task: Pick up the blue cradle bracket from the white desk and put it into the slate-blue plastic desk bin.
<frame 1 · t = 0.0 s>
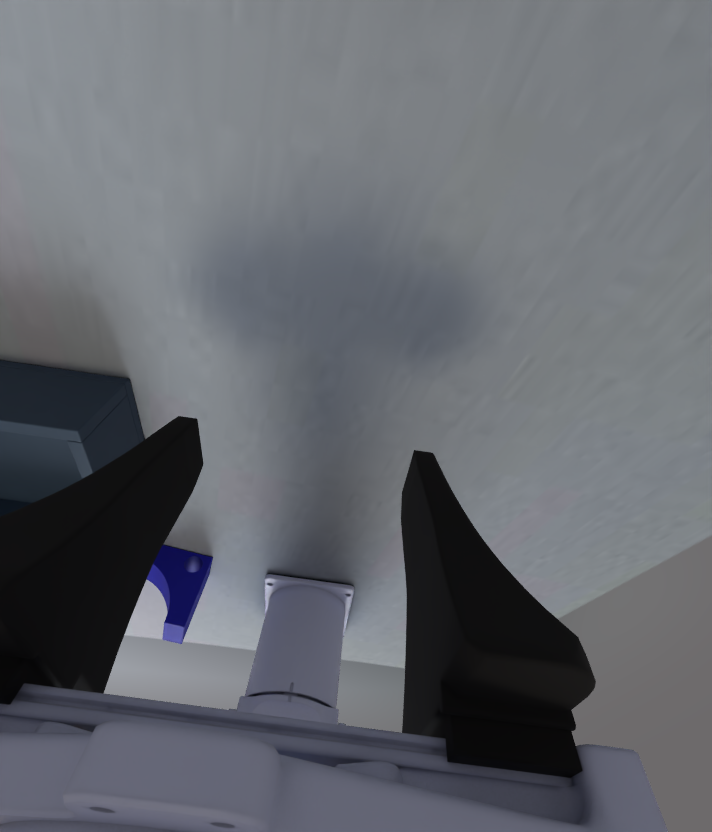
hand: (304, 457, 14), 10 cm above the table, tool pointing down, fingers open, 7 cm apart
blue cradle bracket: (143, 552, 36), on the table
desk bin: (24, 442, 28), on the table
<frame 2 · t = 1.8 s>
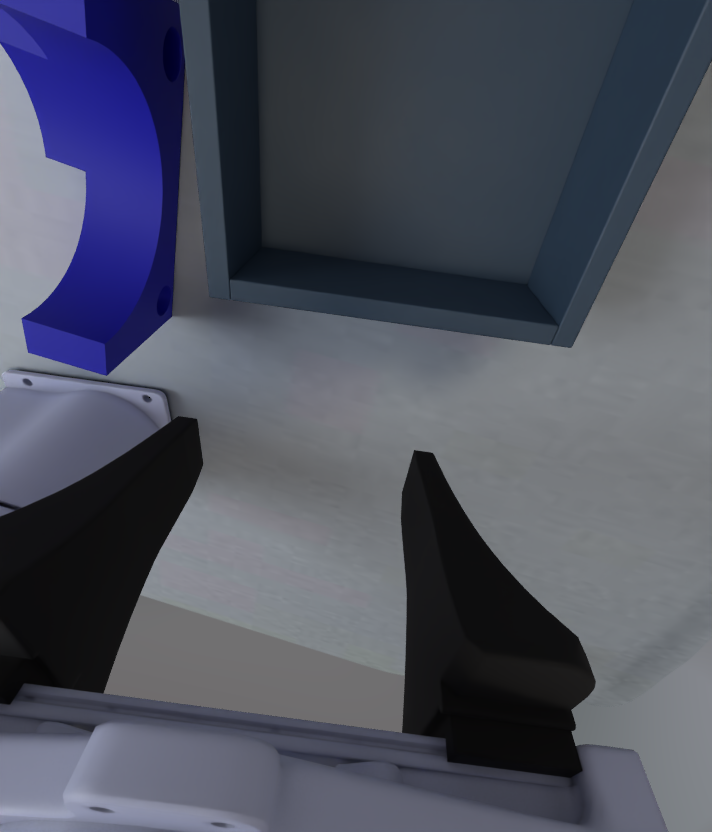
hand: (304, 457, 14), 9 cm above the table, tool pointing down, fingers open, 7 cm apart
blue cradle bracket: (127, 173, 17), on the table
desk bin: (435, 22, 14), on the table
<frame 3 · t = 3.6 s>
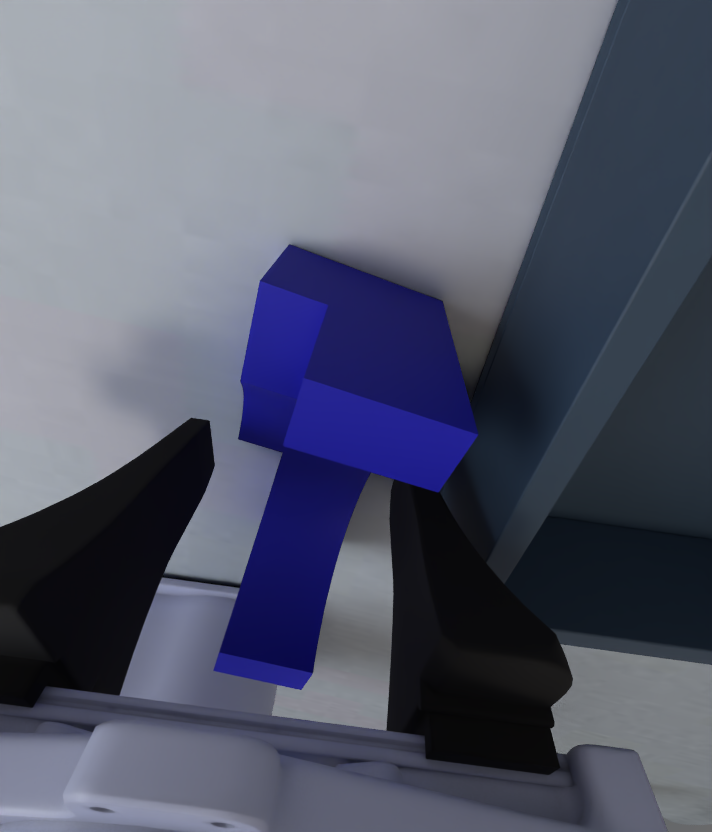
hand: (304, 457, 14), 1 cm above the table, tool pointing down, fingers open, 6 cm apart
blue cradle bracket: (312, 427, 15), on the table
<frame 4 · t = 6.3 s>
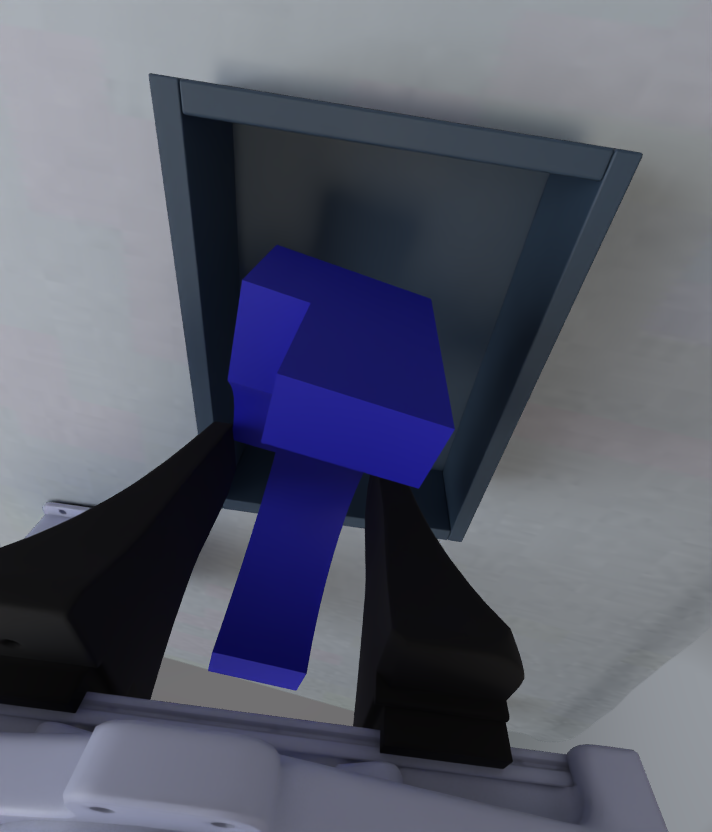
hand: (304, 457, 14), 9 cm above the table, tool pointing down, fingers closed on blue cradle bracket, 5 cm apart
blue cradle bracket: (306, 427, 15), point 7 cm above the table, touching gripper
desk bin: (364, 331, 20), on the table
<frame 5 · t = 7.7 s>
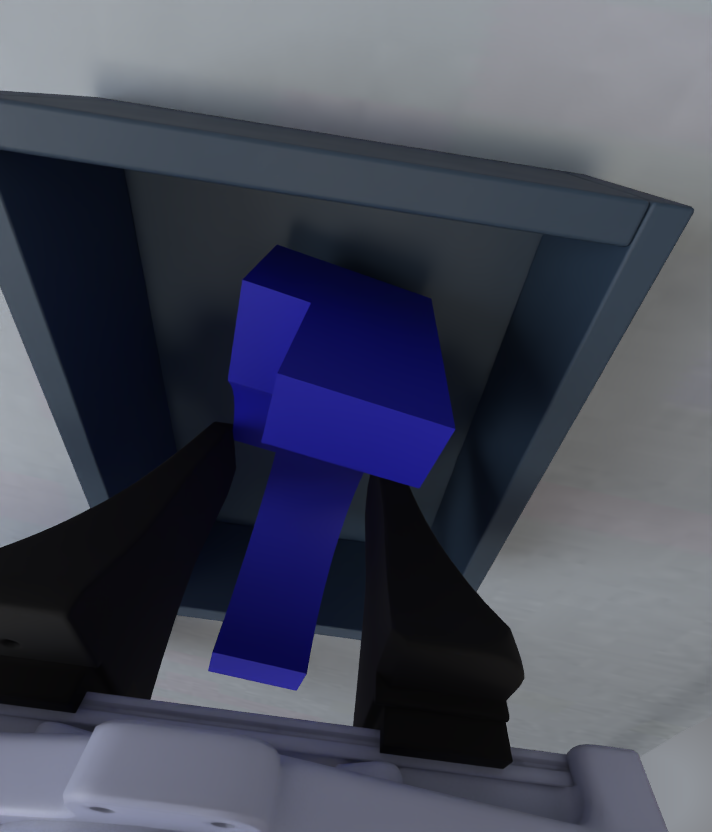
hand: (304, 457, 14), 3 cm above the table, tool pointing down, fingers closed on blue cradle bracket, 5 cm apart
blue cradle bracket: (306, 427, 15), point 2 cm above the table, touching gripper
desk bin: (319, 398, 16), on the table
when the fingers open (2 cm above the table, at t = 8.6 s): blue cradle bracket stays where it is, resting on desk bin.
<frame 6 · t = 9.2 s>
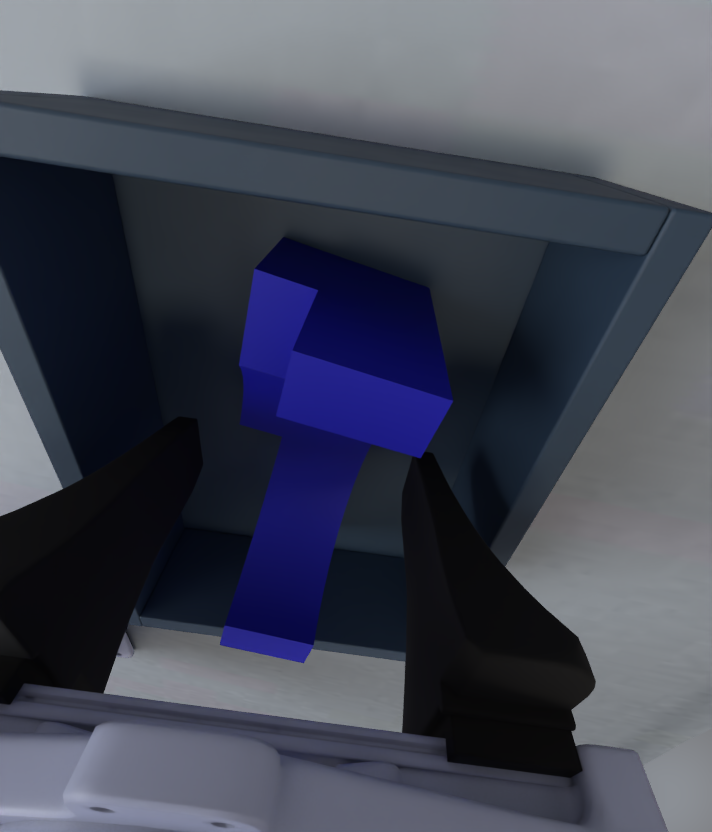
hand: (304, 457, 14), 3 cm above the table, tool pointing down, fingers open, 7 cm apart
blue cradle bracket: (310, 413, 16), resting on desk bin
desk bin: (317, 407, 16), on the table
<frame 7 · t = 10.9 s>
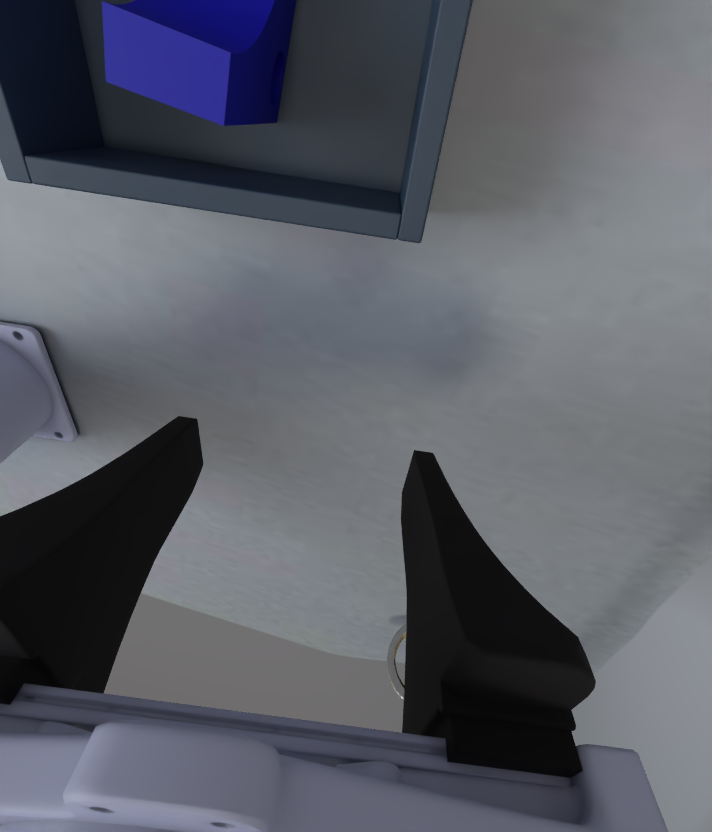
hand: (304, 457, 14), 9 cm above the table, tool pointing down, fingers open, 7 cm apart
ring: (425, 616, 38), on the table
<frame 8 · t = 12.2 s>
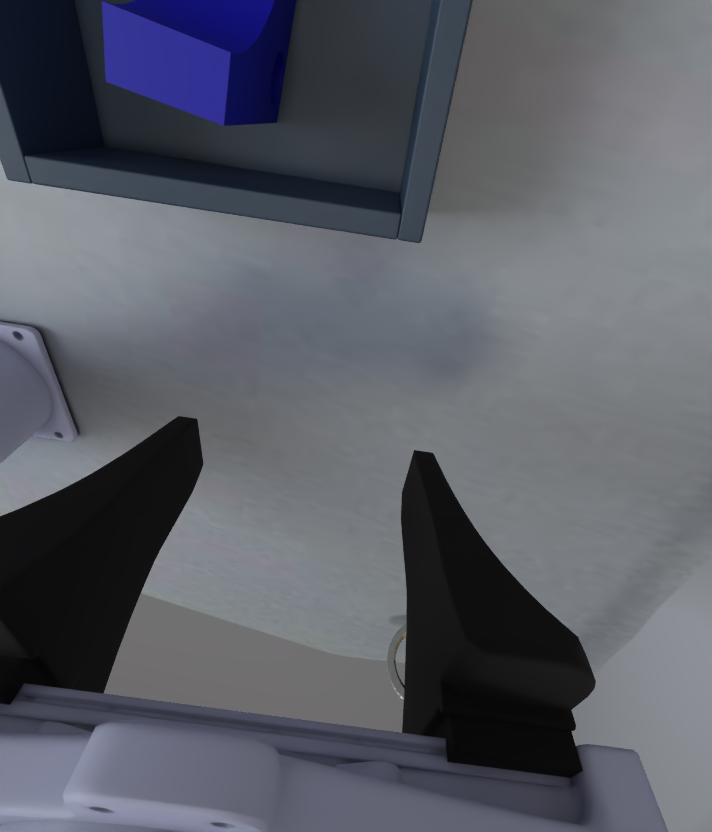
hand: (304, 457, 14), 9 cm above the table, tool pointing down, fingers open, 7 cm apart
ring: (425, 616, 38), on the table
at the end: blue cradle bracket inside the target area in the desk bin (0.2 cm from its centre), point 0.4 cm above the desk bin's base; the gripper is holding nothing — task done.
